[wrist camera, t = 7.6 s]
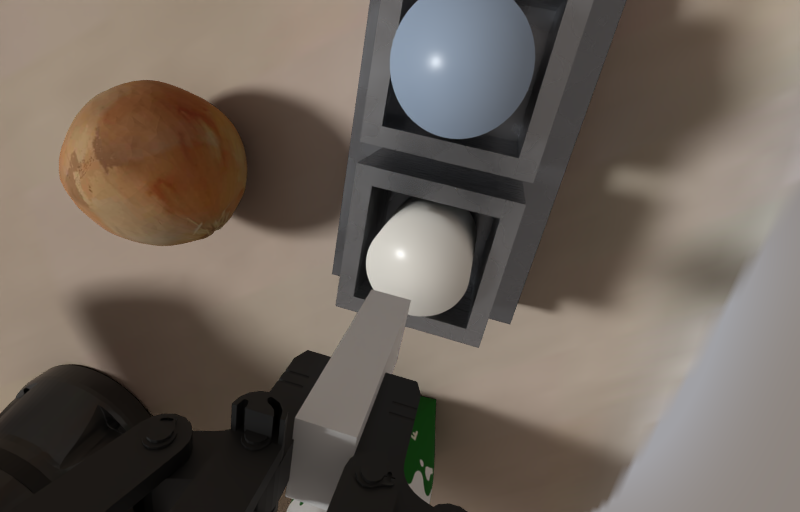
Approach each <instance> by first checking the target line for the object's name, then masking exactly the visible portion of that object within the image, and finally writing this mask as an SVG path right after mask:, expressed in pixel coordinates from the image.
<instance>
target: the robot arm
mask: <svg viewBox="0 0 800 512" xmlns="http://www.w3.org/2000/svg"><path fill="white" fill-rule="evenodd" d="M410 303H411V300H409V299H405V298H401V297H398V296H394V295H391V294H387V293H383V292H380V291H376V290H373V289H371V291H370V293H369V295H368V296H367V298H366V300H365V301H364V303H363V305H362V306H361V308H360V310H359V311H358V313H357V315H356V316H355V318H354V320H353V321H352V323H351V325H350V326H349V328H348V330H347V331H346V333H345V335H344V336H343V338H342V340H341V341H340V343H339V345H338V346H337V348H336V350H335V351H334V353H333V355H332V356H331V357H329V356H326V355H322V354H319V353H316V352H312V351H309V350H307V351H305V352H304V353H302V354H300V355H299V356H297V357H295V358H294V359H293V361H292V362H291V363H290V365H289V366H288V368H287V369H286V371H285V372H284V373H283V374H282V376H281V377H280V379H279V381H277V383H276V384H275V385H274V387H273V388H272V390H271V391H270V392H264V391H258V392H250V393H248V394H245V395H243V396H240V397H239V398H238V399H237V400H235V401H234V402H233V403H232V415H231V429H229V430H225V431H192V426H191V423H190V422H189V421H188V420H187V419H186V418H185V417H182V416H179V415H177V414H161V415H157V416H152V417H150V415H149V414H148V412H147V411H146V410H145V408H144V407H143V406H142V405H141V404H140V402H139V401H138V400H137V399H136V398H135V397H134V396H133V395H132V394H131V393H129V392H128V391H127V390H126V389H125V388H123V387H122V386H121V385H119V384H118V383H117V382H115V381H113V380H112V379H110V378H109V377H107V376H105V375H103V374H101V373H99V372H96V371H94V370H91V369H88V368H85V367H81V366H75V365H61V366H56V367H53V368H51V369H49V370H47V371H46V372H44V373H43V374H41V375H39V376H38V377H36V378H35V379H33V380H32V381H30V382H29V383H28V384H26V385H25V386H24V387H23V388H22V389H21V390H20V392H19V393H18V394H17V396H16V398H15V399H14V400H13V401H12V402H11V403H10V404H9V405H8V406H7V407H6V408H5V409H4V410H3V411H2V412H1V414H0V512H277V509H278V501H279V499H280V497H281V495H282V493H283V491H284V489H285V487H286V485H287V488H286V496H285V497H288V498H291V499H294V500H297V501H300V502H303V503H306V504H309V505H312V506H315V507H317V508H320V509H323V510H326V511H327V512H467V511H466V510H464V509H463V508H461V507H459V506H456V505H452V504H438V505H436V506H435V507H432V506H431V505H430V504H428V503H427V502H425V501H424V500H423V499H421V498H420V497H419V496H418V495H417V494H415V493H414V492H413V490H412V489H411V488H410V486H409V485H408V483H407V480H406V478H405V474H404V462H405V458H406V454H407V450H408V446H409V442H410V438H411V434H412V430H413V425H414V421H415V417H416V413H417V409H418V405H419V401H420V397H421V394H420V390H419V387H418V383H417V382H416V381H413V380H409V379H406V378H403V377H399V376H396V375H393V374H392V373H393V370H394V367H395V364H396V361H397V358H398V354H399V350H400V345H401V341H402V337H403V333H404V328H405V324H406V320H407V316H408V311H409V307H410Z"/></svg>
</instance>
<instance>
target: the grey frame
mask: <svg viewBox="0 0 800 512" xmlns="http://www.w3.org/2000/svg"><path fill="white" fill-rule="evenodd" d="M417 1H418V0H370V5H369V12H368V19H367V26H366V34H365V41H364V48H363V55H362V62H361V70H360V77H359V84H358V91H357V98H356V106H355V113H354V120H353V127H352V134H351V142H350V149H349V156H348V163H347V170H346V178H345V185H344V192H343V199H342V206H341V214H340V221H339V228H338V235H337V242H336V250H335V257H334V264H333V271H332V274H334V275H338V276H340V279H339V286H338V293H337V299H336V306H338V307H341V308H344V309H348V310H351V311H355V312H358V311H359V310H360V308H361V306H362V305H363V303H364V301H365V300H366V298H367V296H368V295H369V293H370V291H371V289H373V288H372V286H371V284H370V282H369V279H368V276H367V271H366V257H367V253H368V249H369V247H370V245H371V243H372V241H373V240H374V238H375V237H376V236H377V234H378V233H379V232H380V231H381V229H382V228H383V227H384V226H385V224H386V223H387V222H388V221H389V219H390V218H391V217H392V216H393V214H394V213H395V212H396V211H397V209H398V208H399V207H400V206H401V205H402V204H403V203H404V202H405V201H406V200H408V199H409V198H411V197H413V196H414V197H418V198H422V199H426V200H429V201H433V202H437V203H441V204H445V205H449V206H453V207H457V208H461V209H465V210H468V211H469V212H470V214H471V215H472V217H473V219H474V222H475V225H476V231H477V239H476V246H475V251H474V257H473V263H472V268H471V274H470V280H469V284H468V287H467V290H466V292H465V293H464V295H463V297H462V298H461V299H460V301H459V302H458V303H457V304H456V305H454V306H453V307H452V308H450V309H449V310H447V311H445V312H443V313H440V314H437V315H433V316H412V315H408V316H407V320H406V324H405V326H406V327H409V328H413V329H416V330H419V331H423V332H426V333H430V334H433V335H437V336H440V337H443V338H447V339H450V340H454V341H457V342H460V343H464V344H467V345H471V346H474V347H477V348H479V346H480V343H481V340H482V337H483V334H484V331H485V327H486V324H487V321H488V318H489V319H493V320H496V321H500V322H503V323H507V324H510V323H511V320H512V318H513V315H514V312H515V309H516V306H517V304H518V301H519V298H520V295H521V292H522V290H523V287H524V284H525V281H526V279H527V276H528V273H529V270H530V267H531V265H532V262H533V259H534V256H535V253H536V251H537V248H538V245H539V242H540V240H541V237H542V234H543V231H544V228H545V226H546V223H547V220H548V217H549V214H550V212H551V209H552V206H553V203H554V201H555V198H556V195H557V192H558V189H559V187H560V184H561V181H562V178H563V175H564V173H565V170H566V167H567V164H568V162H569V159H570V156H571V153H572V150H573V148H574V145H575V142H576V139H577V136H578V134H579V131H580V128H581V125H582V123H583V120H584V117H585V114H586V111H587V109H588V106H589V103H590V100H591V97H592V95H593V92H594V89H595V86H596V84H597V81H598V78H599V75H600V72H601V70H602V67H603V64H604V61H605V58H606V56H607V53H608V50H609V47H610V45H611V42H612V39H613V36H614V33H615V31H616V28H617V25H618V22H619V19H620V17H621V14H622V11H623V8H624V6H625V3H626V0H514V1H515V2H516V4H517V5H518V6H519V7H520V8H521V10H522V11H523V13H524V15H525V16H526V18H527V20H528V23H529V25H530V27H531V31H532V34H533V38H534V45H535V65H534V72H533V76H532V80H531V83H530V86H529V89H528V91H527V93H526V95H525V97H524V99H523V101H522V102H521V104H520V105H519V107H518V108H517V109H516V110H515V112H514V113H513V114H512V115H511V116H510V117H509V118H508V119H507V120H506V121H505V122H503V123H502V124H501V125H499V126H498V127H496V128H495V129H493V130H491V131H489V132H487V133H485V134H482V135H480V136H476V137H472V138H466V139H450V138H444V137H440V136H437V135H434V134H432V133H430V132H428V131H426V130H424V129H423V128H421V127H420V126H418V125H417V124H416V123H415V122H414V121H413V120H412V119H411V118H410V117H409V116H408V115H407V114H406V113H405V111H404V110H403V108H402V107H401V105H400V103H399V101H398V99H397V97H396V95H395V92H394V89H393V85H392V81H391V75H390V54H391V48H392V43H393V39H394V37H395V34H396V31H397V29H398V27H399V25H400V23H401V21H402V19H403V18H404V16H405V15H406V13H407V12H408V10H409V9H410V8H411V7H412V6H413V5H414V4H415V3H416V2H417ZM373 290H374V289H373Z"/></svg>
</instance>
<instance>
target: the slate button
mask: <svg viewBox="0 0 800 512" xmlns="http://www.w3.org/2000/svg"><path fill="white" fill-rule="evenodd" d="M534 65H535V45H534V38H533V34H532V31H531V27H530V25H529V23H528V20H527V18H526V16H525V15H524V13H523V11H522V10H521V8H520V7H519V6H518V5H517V4H516V2H515V1H514V0H418V1H417V2H416V3H415V4H414V5H413V6H412V7H411V8H410V9H409V10H408V12H407V13H406V15H405V16H404V18H403V19H402V21H401V23H400V25H399V27H398V29H397V31H396V34H395V37H394V39H393V43H392V48H391V54H390V75H391V81H392V85H393V89H394V92H395V95H396V97H397V99H398V101H399V103H400V105H401V107H402V108H403V110H404V111H405V113H406V114H407V115H408V116H409V117H410V118H411V119H412V120H413V121H414V122H415V123H416V124H417V125H418V126H420V127H421V128H423V129H424V130H426V131H428V132H430V133H432V134H434V135H437V136H440V137H444V138H450V139H466V138H472V137H476V136H480V135H482V134H485V133H487V132H489V131H491V130H493V129H495V128H496V127H498V126H499V125H501V124H502V123H503V122H505V121H506V120H507V119H508V118H509V117H510V116H511V115H512V114H513V113H514V112H515V110H516V109H517V108H518V107H519V105H520V104H521V102H522V101H523V99H524V97H525V95H526V93H527V91H528V89H529V86H530V83H531V80H532V76H533V72H534Z"/></svg>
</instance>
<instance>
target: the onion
mask: <svg viewBox="0 0 800 512" xmlns="http://www.w3.org/2000/svg"><path fill="white" fill-rule="evenodd" d="M59 174H60V180H61V182H62V184H63V186H64V188H65V190H66V191H67V193H68V195H69V196H70V197H71V199H72V200H73V201H74V203H75V204H76V205H77V206H78V208H79V209H81V210H82V211H83V212H84V213H85V214H86V215H87V216H88V217H89V218H91V219H92V220H93V221H94V222H95V223H97V224H98V225H99V226H101V227H102V228H104V229H105V230H107V231H109V232H110V233H112V234H115V235H117V236H120V237H122V238H125V239H128V240H131V241H135V242H138V243H143V244H150V245H157V246H172V245H178V244H183V243H188V242H192V241H196V240H200V239H204V238H206V237H208V236H210V235H212V234H213V233H214V231H215V230H219V229H220V228H222V227H223V226H224V224H225V223H226V222H227V221H228V220H229V219H230V218H231V216H232V214H233V213H234V211H235V209H236V208H237V206H238V204H239V202H240V200H241V198H242V196H243V194H244V191H245V187H246V179H247V161H246V154H245V150H244V146H243V143H242V141H241V138H240V136H239V134H238V132H237V130H236V128H235V127H234V125H233V124H232V123H231V121H230V120H229V119H228V118H227V117H226V116H225V115H224V114H223V113H222V112H221V111H220V110H218V109H217V108H216V107H214V106H213V105H211V104H210V103H209V102H207V101H206V100H204V99H202V98H200V97H198V96H196V95H194V94H192V93H190V92H188V91H185V90H183V89H181V88H178V87H176V86H173V85H170V84H167V83H164V82H159V81H152V80H141V81H133V82H128V83H125V84H121V85H118V86H115V87H113V88H111V89H109V90H107V91H105V92H102V93H100V94H98V95H97V96H95V97H94V98H92V99H91V100H90V101H89V102H88V103H87V104H86V105H85V106H84V107H83V108H82V109H81V110H80V112H79V113H78V114H77V115H76V117H75V119H74V120H73V122H72V124H71V126H70V128H69V130H68V132H67V134H66V137H65V140H64V142H63V145H62V149H61V152H60V158H59Z"/></svg>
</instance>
